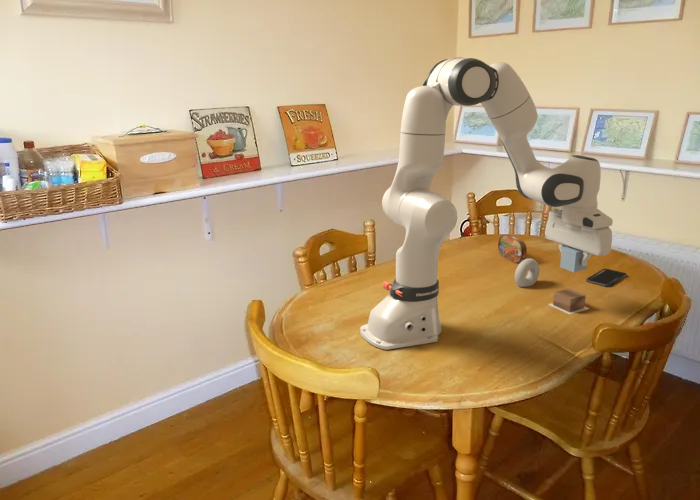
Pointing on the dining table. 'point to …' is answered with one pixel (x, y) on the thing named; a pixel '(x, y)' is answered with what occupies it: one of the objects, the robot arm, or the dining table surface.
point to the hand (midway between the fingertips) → (573, 262)
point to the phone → (606, 277)
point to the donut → (522, 270)
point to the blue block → (571, 259)
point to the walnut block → (569, 300)
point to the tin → (512, 248)
